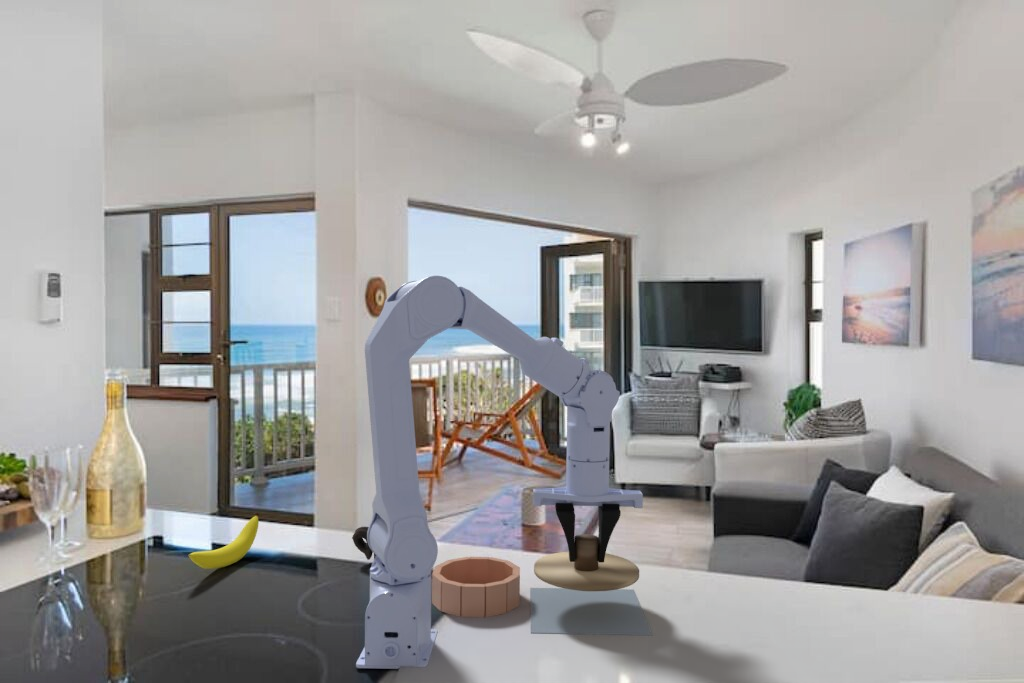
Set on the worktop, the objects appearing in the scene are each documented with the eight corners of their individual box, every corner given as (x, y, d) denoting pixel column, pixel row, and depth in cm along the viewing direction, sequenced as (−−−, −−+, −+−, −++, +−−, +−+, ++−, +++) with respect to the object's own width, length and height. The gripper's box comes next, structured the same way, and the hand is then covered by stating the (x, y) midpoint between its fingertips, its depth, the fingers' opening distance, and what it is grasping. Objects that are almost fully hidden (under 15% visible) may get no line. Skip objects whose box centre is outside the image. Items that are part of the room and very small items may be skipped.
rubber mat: (652, 639, 83) (652, 635, 83) (530, 637, 84) (530, 632, 84) (633, 593, 98) (633, 589, 98) (530, 591, 99) (530, 587, 99)
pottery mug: (423, 555, 116) (433, 520, 112) (412, 599, 108) (422, 562, 104) (355, 538, 116) (362, 502, 112) (338, 580, 107) (346, 542, 103)
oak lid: (648, 592, 84) (648, 555, 84) (534, 590, 84) (535, 553, 84) (630, 556, 98) (630, 524, 98) (533, 554, 98) (533, 522, 98)
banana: (179, 587, 99) (179, 544, 99) (250, 548, 118) (250, 511, 118) (197, 589, 99) (197, 545, 99) (265, 549, 117) (265, 512, 117)
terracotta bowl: (518, 621, 88) (519, 587, 88) (427, 620, 88) (427, 585, 88) (519, 587, 100) (520, 557, 100) (439, 586, 100) (439, 556, 100)
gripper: (637, 454, 95) (635, 551, 95) (533, 452, 95) (532, 549, 95) (646, 463, 88) (644, 568, 88) (533, 461, 88) (532, 566, 88)
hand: (586, 559), depth 91 cm, fingers closed on oak lid, 3 cm apart
